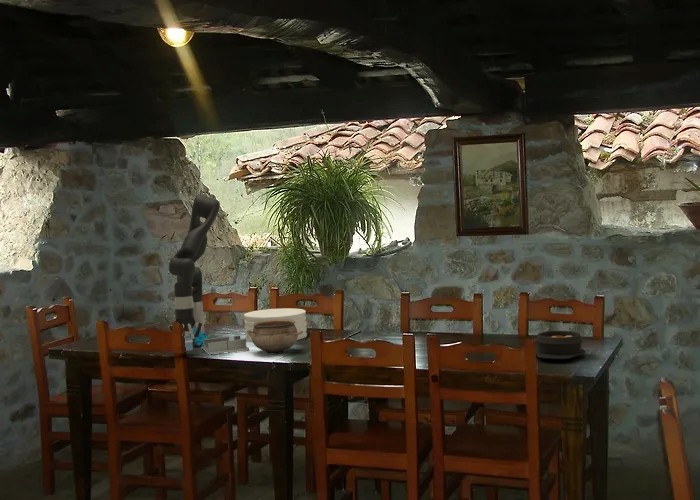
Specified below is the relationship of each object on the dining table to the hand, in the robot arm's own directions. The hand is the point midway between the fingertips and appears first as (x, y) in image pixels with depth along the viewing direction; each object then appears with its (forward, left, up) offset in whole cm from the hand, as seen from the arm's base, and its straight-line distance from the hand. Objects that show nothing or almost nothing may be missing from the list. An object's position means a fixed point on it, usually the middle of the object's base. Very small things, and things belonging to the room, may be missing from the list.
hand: (186, 348), depth 317 cm
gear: (-20, +9, -3) cm, 22 cm away
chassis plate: (-3, +17, -3) cm, 17 cm away
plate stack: (-21, +44, -4) cm, 49 cm away
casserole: (+87, +120, -3) cm, 148 cm away
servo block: (0, 0, 0) cm, 0 cm away
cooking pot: (+15, +34, -3) cm, 37 cm away
